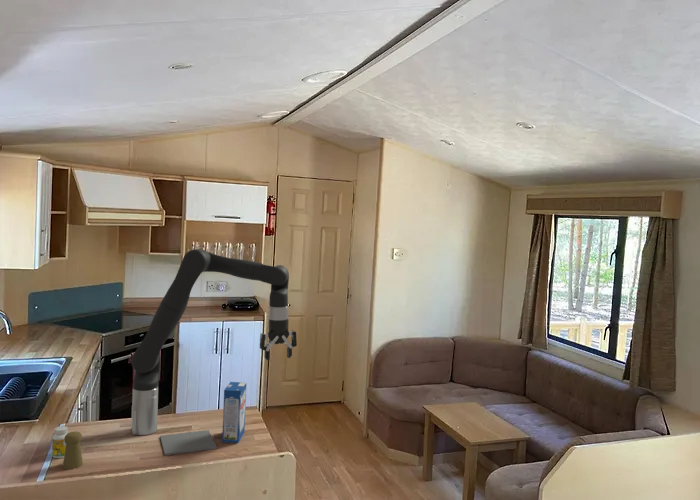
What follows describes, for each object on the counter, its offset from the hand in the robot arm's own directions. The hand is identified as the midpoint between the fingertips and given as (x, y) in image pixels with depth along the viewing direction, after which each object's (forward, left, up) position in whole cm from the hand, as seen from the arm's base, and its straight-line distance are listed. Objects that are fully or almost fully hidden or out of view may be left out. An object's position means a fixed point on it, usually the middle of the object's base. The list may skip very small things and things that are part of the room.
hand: (278, 358), depth 213 cm
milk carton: (-16, +3, -31) cm, 34 cm away
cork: (-71, -3, -31) cm, 77 cm away
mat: (-33, +3, -30) cm, 45 cm away
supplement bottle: (-75, +6, -31) cm, 81 cm away
